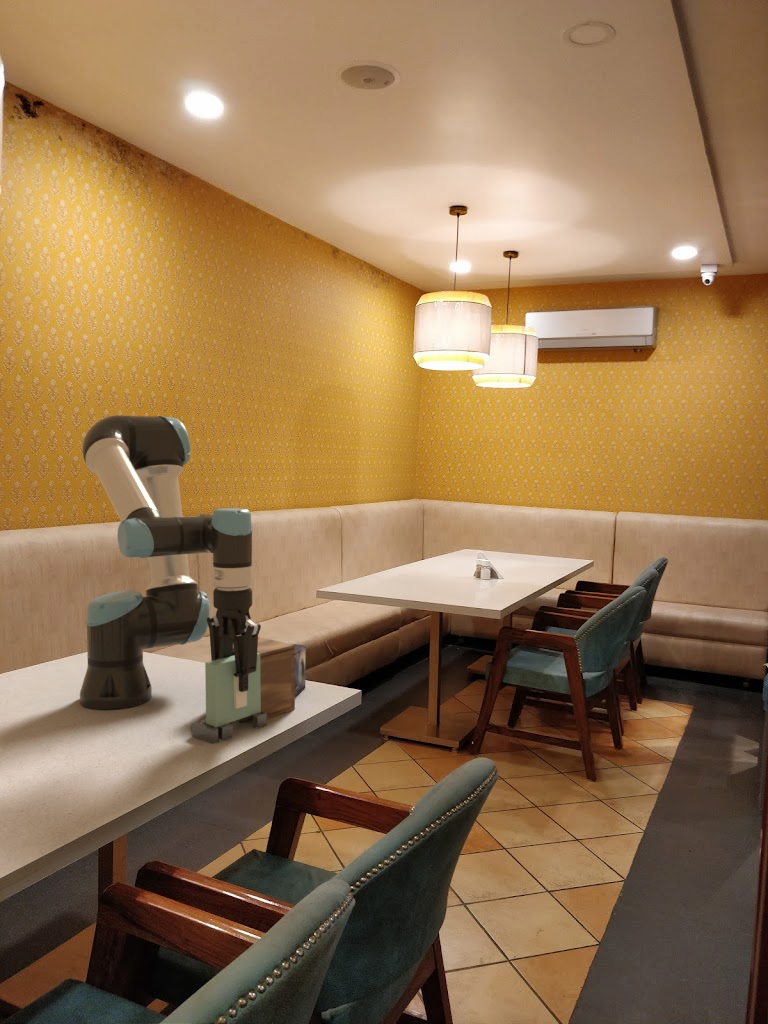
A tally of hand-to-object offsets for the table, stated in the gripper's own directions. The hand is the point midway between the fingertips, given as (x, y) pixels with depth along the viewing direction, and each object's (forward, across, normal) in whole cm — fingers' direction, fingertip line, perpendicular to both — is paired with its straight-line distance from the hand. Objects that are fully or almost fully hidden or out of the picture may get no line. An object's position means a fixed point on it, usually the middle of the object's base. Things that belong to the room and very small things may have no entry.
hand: (234, 704), depth 160 cm
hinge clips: (+5, 0, -1) cm, 5 cm away
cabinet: (+5, -7, +12) cm, 14 cm away
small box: (+5, -9, +24) cm, 26 cm away
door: (+3, 0, 0) cm, 3 cm away
